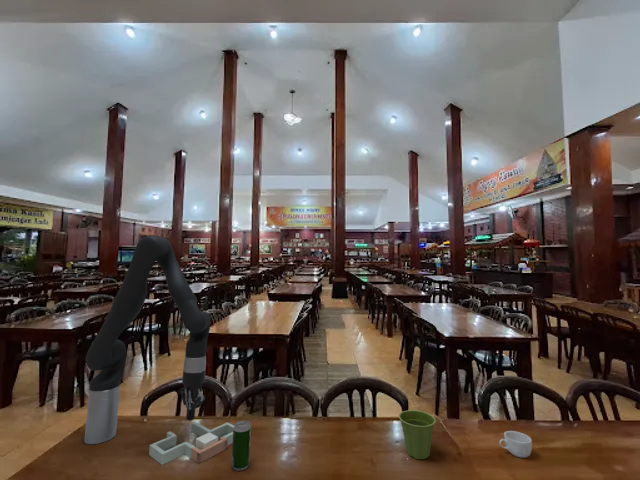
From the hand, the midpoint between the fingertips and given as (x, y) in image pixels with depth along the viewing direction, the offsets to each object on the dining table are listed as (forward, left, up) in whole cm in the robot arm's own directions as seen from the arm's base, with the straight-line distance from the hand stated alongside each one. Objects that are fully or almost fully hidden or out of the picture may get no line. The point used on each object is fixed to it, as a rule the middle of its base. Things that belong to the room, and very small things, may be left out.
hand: (190, 419), depth 107 cm
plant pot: (+66, +42, -7) cm, 79 cm away
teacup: (+92, +62, -7) cm, 112 cm away
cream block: (+11, 0, -7) cm, 13 cm away
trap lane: (+4, 0, -7) cm, 8 cm away
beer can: (+25, +2, -7) cm, 27 cm away
